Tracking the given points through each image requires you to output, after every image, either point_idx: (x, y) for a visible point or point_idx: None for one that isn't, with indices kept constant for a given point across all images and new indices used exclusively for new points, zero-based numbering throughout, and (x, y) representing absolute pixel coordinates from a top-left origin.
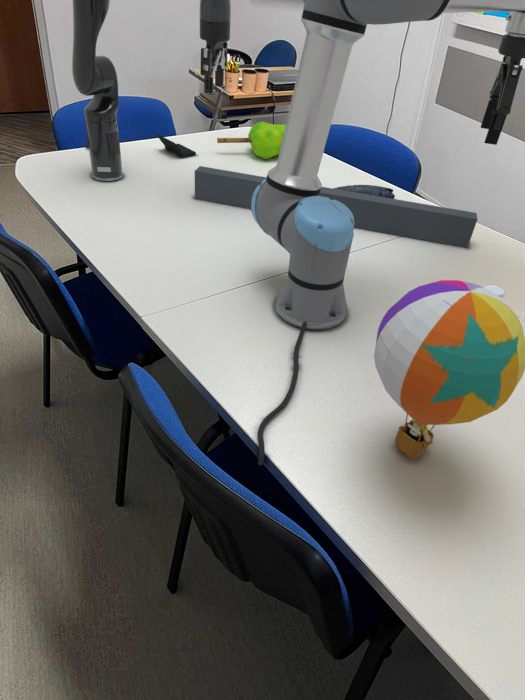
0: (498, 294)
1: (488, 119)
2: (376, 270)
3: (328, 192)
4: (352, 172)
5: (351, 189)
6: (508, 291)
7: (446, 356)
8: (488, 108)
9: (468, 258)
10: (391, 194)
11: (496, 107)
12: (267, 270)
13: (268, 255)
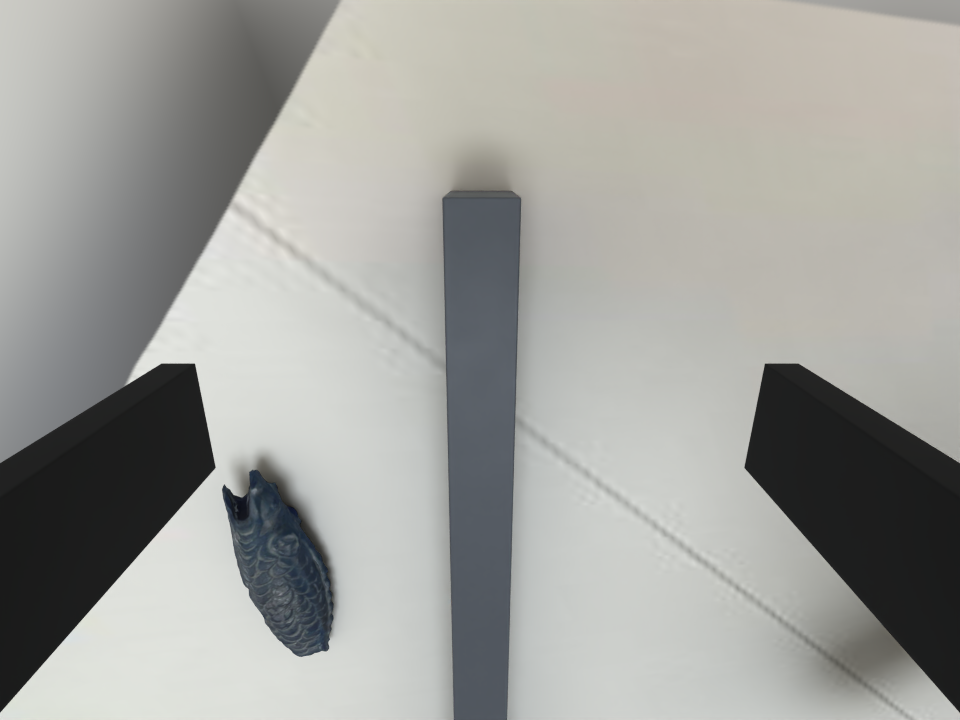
0: None
1: (153, 475)
2: None
3: (495, 703)
4: None
5: (292, 610)
6: (818, 51)
7: None
8: (71, 607)
9: (598, 190)
10: (257, 492)
11: (15, 535)
12: (816, 682)
13: (743, 693)
